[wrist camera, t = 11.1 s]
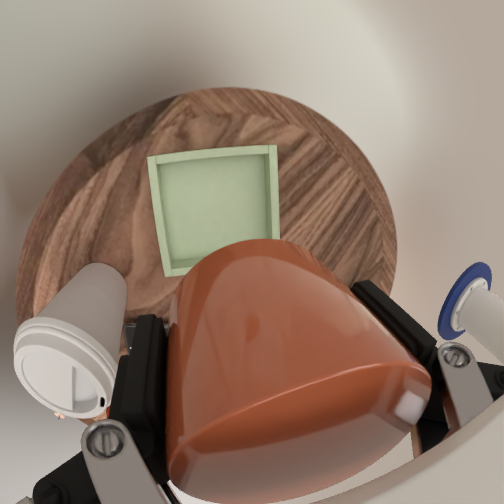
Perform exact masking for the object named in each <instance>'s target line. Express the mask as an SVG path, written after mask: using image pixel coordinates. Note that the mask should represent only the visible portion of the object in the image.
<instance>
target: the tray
mask: <svg viewBox="0 0 504 504" xmlns="http://www.w3.org/2000/svg"><path fill="white" fill-rule="evenodd" d="M147 164H148V173H149V182H150V190H151V197H152V205H153V211H154V218H155V225H156V231H157V237H158V243H159V248H160V254H161V259H162V265H163V270H164V275H165V277H172V276H181V275H186V274H187V273H188V272H189V271H190V269H191V268H192V267H193V266H194V265H196V264H197V263H198V262H199V261H200V260H202V259H203V258H204V257H206V256H208V255H209V254H211V253H212V252H214V251H216V250H218V249H220V248H223V247H225V246H227V245H230V244H233V243H236V242H240V241H245V240H251V239H278V240H280V227H279V191H278V163H277V145H251V146H235V147H222V148H211V149H201V150H192V151H183V152H175V153H168V154H161V155H154V156H149V157H147Z"/></svg>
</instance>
